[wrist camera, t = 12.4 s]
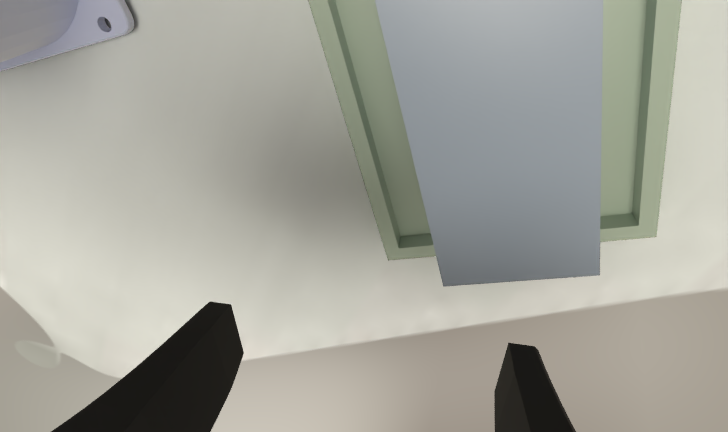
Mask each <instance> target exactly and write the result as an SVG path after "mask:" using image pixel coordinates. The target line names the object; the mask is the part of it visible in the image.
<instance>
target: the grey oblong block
mask: <svg viewBox="0 0 728 432" xmlns="http://www.w3.org/2000/svg"><path fill="white" fill-rule="evenodd" d="M375 3H376V7H377V11H378V16H379V20H380V24H381V28H382V32H383V36H384V41H385V45H386V49H387V53H388V57H389V61H390V66H391V70H392V74H393V78H394V82H395V86H396V91H397V95H398V99H399V103H400V107H401V111H402V116H403V120H404V124H405V128H406V132H407V136H408V141H409V145H410V149H411V153H412V157H413V161H414V165H415V170H416V174H417V178H418V182H419V186H420V190H421V195H422V199H423V203H424V207H425V211H426V215H427V220H428V224H429V228H430V232H431V236H432V240H433V245H434V249H435V253H436V257H437V261H438V265H439V270H440V274H441V278H442V282H443V286H456V285H470V284H484V283H498V282H512V281H526V280H540V279H554V278H568V277H582V276H596V275H600V206H601V131H602V56H603V0H375Z"/></svg>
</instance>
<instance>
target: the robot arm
mask: <svg viewBox="0 0 728 432" xmlns="http://www.w3.org/2000/svg"><path fill="white" fill-rule="evenodd" d="M105 18H106V19H108V21H109V22H110V24H111V29H110V28H109V27H108V26H107V25H106V23H105V20H104V19H105ZM133 28H134V20H133V17H132V14H131V12H130V10H129V9H128V7H127V5H126V3H125V1H124V0H0V72H1V71H4V70H8V69H11V68H14V67H18V66H21V65H24V64H28V63H31V62H35V61H38V60H41V59H45V58H48V57H52V56H55V55H58V54H62V53H65V52H68V51H72V50H75V49H79V48H82V47H85V46H89V45H92V44H95V43H99V42H102V41H106V40H109V39H112V38H116V37H119V36H123V35H125V34H128V33H130V32H131V31H132V30H133ZM243 354H244V352H243V348H242V345H241V341H240V337H239V333H238V329H237V326H236V322H235V318H234V314H233V310H232V306H231V305H230V304H223V303H216V302H209V303H208V304H207V305H205V306H204V307H203V308H202V309H201V310H200V311H199V312H198V313H196V314H195V315H194V316H193V317H192V318H191V319H190V320H189V321H188V322H187V323H185V324H184V325H183V326H182V327H181V328H180V329H179V330H178V331H177V332H176V333H174V334H173V335H172V336H171V337H170V338H169V339H168V340H167V341H166V342H165V343H163V344H162V345H161V346H160V347H159V348H158V349H157V350H155V351H154V352H153V353H152V354H151V355H150V356H148V357H147V358H146V359H145V360H144V361H143V362H142V363H140V364H139V365H138V366H137V367H136V368H135V369H133V370H132V371H131V372H130V373H128V374H127V375H126V376H125V377H124V378H122V379H121V380H120V381H119V382H117V383H116V384H115V385H114V386H112V387H111V388H110V389H109V390H108V391H106V392H105V393H104V394H102V395H101V396H100V397H99V398H97V399H96V400H95V401H93V402H92V403H91V404H89V405H88V406H87V407H85V408H84V409H83V410H81V411H80V412H79V413H77V414H76V415H74V416H73V417H72V418H71V419H69V420H67V421H66V422H64V423H63V424H62V425H60V426H59V427H57V428H56V429H54V430H53V431H52V432H210V431H211V429H212V427H213V425H214V423H215V421H216V419H217V417H218V415H219V413H220V411H221V409H222V407H223V405H224V403H225V401H226V399H227V397H228V394H229V392H230V390H231V388H232V385H233V382H234V380H235V377H236V374H237V371H238V368H239V365H240V362H241V359H242V357H243ZM495 432H576V431H575V429H574V427H573V425H572V424H571V422H570V420H569V418H568V416H567V414H566V412H565V410H564V408H563V406H562V404H561V402H560V400H559V397H558V395H557V393H556V391H555V389H554V387H553V384H552V383H551V380H550V378H549V376H548V373H547V371H546V369H545V366H544V364H543V361H542V359H541V356H540V354H539V351H538V350H537V349H536V347H534V346H527V345H520V344H513V343H508V347H507V350H506V354H505V358H504V361H503V364H502V368H501V371H500V375H499V378H498V382H497V386H496V389H495Z"/></svg>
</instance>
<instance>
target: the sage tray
mask: <svg viewBox="0 0 728 432" xmlns="http://www.w3.org/2000/svg"><path fill="white" fill-rule="evenodd" d="M308 1H309V5H310V8H311V11H312V14H313V18H314V21H315V24H316V27H317V31H318V34H319V37H320V40H321V44H322V47H323V50H324V53H325V57H326V60H327V63H328V66H329V70H330V73H331V76H332V79H333V83H334V86H335V89H336V92H337V96H338V99H339V102H340V105H341V109H342V112H343V115H344V118H345V122H346V125H347V128H348V131H349V135H350V138H351V141H352V144H353V148H354V151H355V154H356V157H357V161H358V164H359V167H360V170H361V174H362V177H363V180H364V183H365V187H366V190H367V193H368V196H369V200H370V203H371V206H372V209H373V213H374V216H375V219H376V222H377V226H378V229H379V232H380V235H381V239H382V242H383V245H384V248H385V252H386V255H387V258H388V260H398V259H409V258H421V257H432V256H436V253H435V249H434V245H433V240H432V236H431V232H430V228H429V224H428V220H427V215H426V211H425V207H424V203H423V199H422V195H421V190H420V186H419V182H418V178H417V174H416V170H415V165H414V161H413V157H412V153H411V149H410V145H409V141H408V136H407V132H406V128H405V124H404V120H403V116H402V111H401V107H400V103H399V99H398V95H397V91H396V86H395V82H394V78H393V74H392V70H391V66H390V61H389V57H388V53H387V49H386V45H385V41H384V36H383V32H382V28H381V24H380V20H379V16H378V11H377V7H376V3H375V0H308ZM681 3H682V0H603V56H602V131H601V206H600V242H605V241H616V240H628V239H639V238H651V237H656V235H657V226H658V216H659V207H660V198H661V189H662V179H663V170H664V161H665V151H666V142H667V133H668V124H669V114H670V105H671V96H672V87H673V77H674V68H675V59H676V50H677V40H678V31H679V22H680V13H681Z"/></svg>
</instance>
